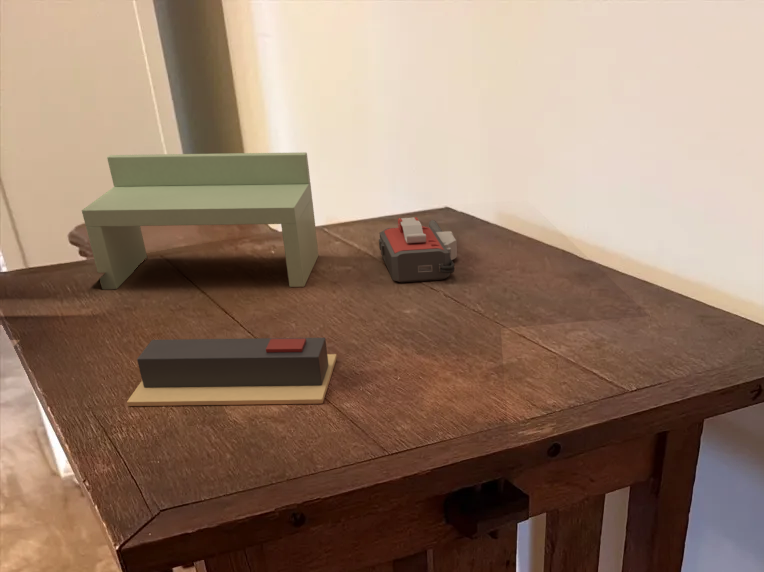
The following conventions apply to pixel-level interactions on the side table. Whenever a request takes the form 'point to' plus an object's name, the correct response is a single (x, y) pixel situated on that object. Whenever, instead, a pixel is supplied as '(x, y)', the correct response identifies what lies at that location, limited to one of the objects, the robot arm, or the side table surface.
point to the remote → (234, 362)
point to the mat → (233, 394)
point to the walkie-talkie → (418, 251)
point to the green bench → (201, 204)
